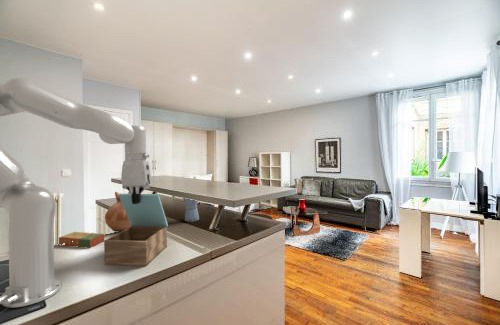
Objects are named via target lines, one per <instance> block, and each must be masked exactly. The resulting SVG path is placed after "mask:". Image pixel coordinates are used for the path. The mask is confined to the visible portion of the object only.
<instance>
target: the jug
mask: <svg viewBox="0 0 500 325" xmlns="http://www.w3.org/2000/svg"><path fill="white" fill-rule="evenodd" d="M118 194H120V193H119V192H118V191H115V192H114V197H115V199H116V200H115V201H116V202H115V203H114V204H112V205H111V206H110V207H109V208H108V209H107V211H106V212H105V214H104V220H105V223H106V225H107V227H109V229H110V230H112V231H113V232H115V233H120V232H121V231H123V230H125V229H127V228H129V227H131V224H130V222H129V219H128V217H127V215H126V212H125V210H124V207H123V205H122V203H121V200H120V198H119V196H118Z"/></svg>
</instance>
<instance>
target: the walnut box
mask: <svg viewBox="0 0 500 325" xmlns="http://www.w3.org/2000/svg"><path fill="white" fill-rule="evenodd" d="M167 229H168V227H152V226H131V227H129V228H127V229H125V230H123V231H121V232H117V233H116V234H114V235H113V236H111V237H109V238H106V239H104V242H103V243H104V244H103V246H104V247H103V248H104V252H103V253H104V254H103V256H104V261H103V262H104V266H129V267H130V266H131V267H132V266H134V267H148V266H149V265H150V263H151V262H152V261H154V260H155V259H156V258H157V257H158V256H159V255H160V254H161V253H162V252H163V251H165V249H166V248H167V247H168V242H167V241H168V240H167V238H168V230H167Z"/></svg>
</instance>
